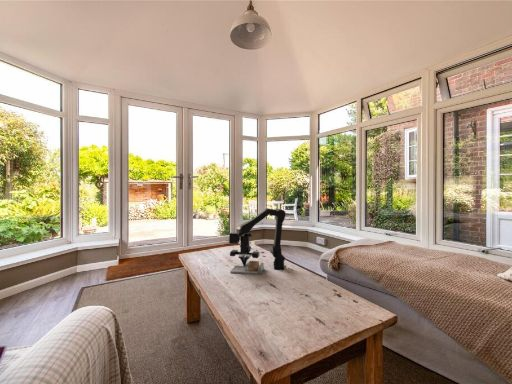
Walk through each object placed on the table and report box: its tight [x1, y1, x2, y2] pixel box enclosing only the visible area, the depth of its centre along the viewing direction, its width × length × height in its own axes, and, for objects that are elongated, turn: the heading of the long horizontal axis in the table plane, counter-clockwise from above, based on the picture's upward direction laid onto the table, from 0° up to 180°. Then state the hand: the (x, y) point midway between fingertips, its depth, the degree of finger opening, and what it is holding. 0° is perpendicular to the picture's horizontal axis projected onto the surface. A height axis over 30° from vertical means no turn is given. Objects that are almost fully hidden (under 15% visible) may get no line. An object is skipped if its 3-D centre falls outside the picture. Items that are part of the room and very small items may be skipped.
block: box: [247, 260, 260, 271], centre depth 156 cm, size 6×4×5 cm
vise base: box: [230, 262, 265, 275], centre depth 157 cm, size 20×10×4 cm, turn 78°
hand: (244, 266), depth 157 cm, fingers closed
